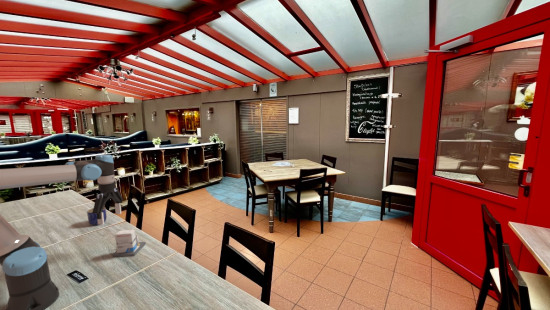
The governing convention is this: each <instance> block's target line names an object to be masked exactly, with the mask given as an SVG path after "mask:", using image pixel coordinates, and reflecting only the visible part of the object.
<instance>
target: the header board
mask: <svg viewBox="0 0 550 310" xmlns="http://www.w3.org/2000/svg"><path fill="white" fill-rule="evenodd" d="M135 236H136V244H137V248H136V249H135V250H134V251H133V252H123V253H118V251H117V250H115V252H113V253H112V257H114V258H117V257H135V256H136V255H137V254H139V252H140V251H141V250H142V249H143V248H144V247H145V245H146V244H147V243H146V241H139V235H138V234H137V235H136V234H135Z"/></svg>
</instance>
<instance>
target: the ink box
mask: <svg viewBox="0 0 550 310" xmlns="http://www.w3.org/2000/svg"><path fill="white" fill-rule="evenodd" d="M114 236H115V243H116V251H118V253H123V252H133V251H134V250H135V249H136V248H137V244H136V231H135V229H125V230H119V231H117V233H115V235H114Z"/></svg>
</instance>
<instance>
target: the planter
mask: <svg viewBox="0 0 550 310" xmlns="http://www.w3.org/2000/svg"><path fill="white" fill-rule="evenodd" d="M93 208H94V207H93ZM93 208H90V209H88V210H87V211H86V213H87V219H88V220H87V221H88V223H89V224H90V225H91V226H99V225H98V220H97V215H96V214H93V213H92V212H93ZM106 209H107V208H106V207H105V206H104V208H103V210H102V212H103V217H104V223H105V222H106V221H107V216H108V215H107V210H106ZM99 211H100V210H99Z"/></svg>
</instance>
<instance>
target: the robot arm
mask: <svg viewBox="0 0 550 310" xmlns="http://www.w3.org/2000/svg"><path fill="white" fill-rule="evenodd" d="M114 164H115V162H114V157H113V155H111V154H98V155H95V159H87V160H85V159H84V160H73V161H68V162H66V163H65V164H63V165H62V164H60V165H47V166H33V167H32V166H30V167H15V168H0V190H5V189H14V188H23V187H32V186H40V185H49V184H58V183H67V182H68V183H69V182H76V181H77V182H79V181H88V182H89V181H90V182H91V181H96V180H97V186H98V191H100V193H99V194H96V195H95V201H94V205H93V212H92V213H93V214H96V215H97V220H98V225H97V226H99V225H101V226H102V225H104V224H105V222H104V217H103V212H102V210H103V208H104V207H105V206H106V203H107V202H108V201H109V200H110V199H112V200H113V202H114V209H115V215H122V205H121V204H122V203H123V201H124V198H123V197H122V194H121V192H120V191H119V187H116V186H117V185H116V177H115V167H114ZM99 210H100V211H99ZM48 261H49V260H48V253H47V252H46V249H45V248H43V247H41V245H40V244H39V242H37V241H34V240H33V239H32V237H31V236H30V235H28V234H20V232H19V231H17V230H16V229H15V228H14V226H12V225H11V224H10V222H8V221H7V219H5V217H3V216H2V215H1V214H0V266H1V267H2V271H3V274H4V278H5V282H6V288H7V292H8V296H9V297H8V300H7V305H6V306H7V307H6V308H5V310H46V309H47V308H49V307H50V306H52V305H53V304H54V303H55V302H56V301H57V300H58V299H59V297H60V291H59V287H58V286H56V284H55V283H54V282H53V281H52V279H51V273H50V268H49V262H48Z"/></svg>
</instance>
